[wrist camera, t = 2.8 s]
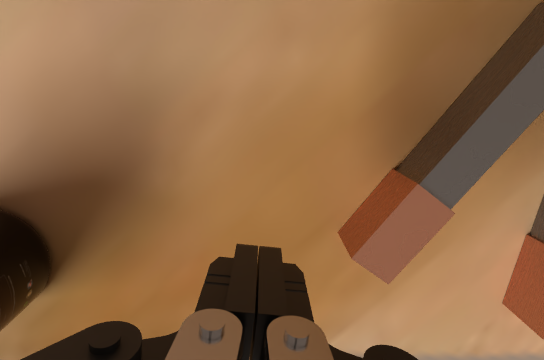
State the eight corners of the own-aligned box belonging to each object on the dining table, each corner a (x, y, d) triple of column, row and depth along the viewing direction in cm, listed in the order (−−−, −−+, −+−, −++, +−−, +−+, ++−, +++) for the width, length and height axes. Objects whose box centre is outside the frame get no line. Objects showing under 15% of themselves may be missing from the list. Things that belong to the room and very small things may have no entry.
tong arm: (536, 1, 16) (599, -20, 13) (568, 34, 17) (636, 21, 14) (337, 232, 20) (351, 258, 16) (369, 254, 20) (388, 284, 17)
